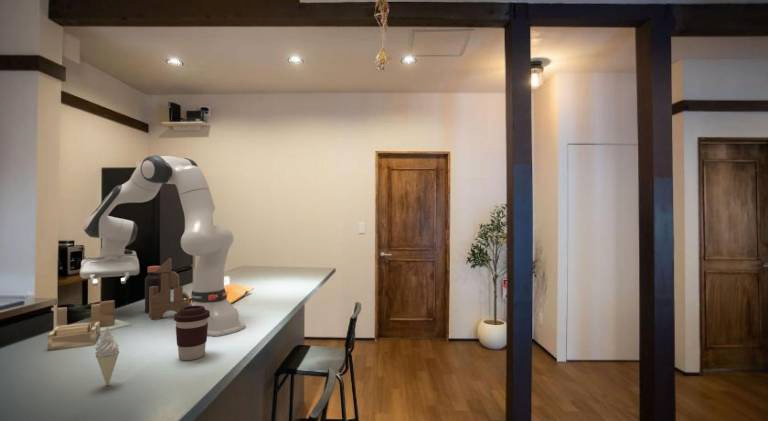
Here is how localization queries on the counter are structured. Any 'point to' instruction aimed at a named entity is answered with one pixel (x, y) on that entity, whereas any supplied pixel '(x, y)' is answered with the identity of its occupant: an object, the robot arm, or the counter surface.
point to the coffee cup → (191, 331)
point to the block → (107, 313)
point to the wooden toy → (166, 293)
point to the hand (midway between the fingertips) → (109, 283)
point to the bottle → (151, 284)
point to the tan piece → (74, 331)
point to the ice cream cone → (107, 355)
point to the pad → (115, 325)
